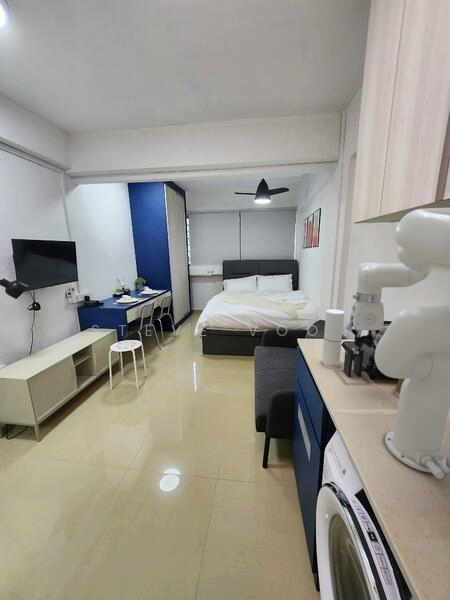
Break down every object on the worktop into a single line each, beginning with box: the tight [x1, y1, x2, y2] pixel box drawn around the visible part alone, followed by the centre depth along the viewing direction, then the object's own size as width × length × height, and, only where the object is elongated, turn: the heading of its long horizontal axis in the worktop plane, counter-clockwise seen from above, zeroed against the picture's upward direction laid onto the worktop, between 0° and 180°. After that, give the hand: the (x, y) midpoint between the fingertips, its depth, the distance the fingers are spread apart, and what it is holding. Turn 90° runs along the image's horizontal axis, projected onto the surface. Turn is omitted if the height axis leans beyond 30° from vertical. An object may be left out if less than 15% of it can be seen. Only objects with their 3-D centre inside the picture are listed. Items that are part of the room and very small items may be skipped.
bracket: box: [342, 345, 365, 378], centre depth 97 cm, size 10×9×13 cm
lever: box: [351, 335, 370, 358], centre depth 92 cm, size 13×3×3 cm
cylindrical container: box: [321, 308, 345, 367], centre depth 106 cm, size 7×7×25 cm
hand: (363, 345), depth 89 cm, fingers closed on lever, 3 cm apart
